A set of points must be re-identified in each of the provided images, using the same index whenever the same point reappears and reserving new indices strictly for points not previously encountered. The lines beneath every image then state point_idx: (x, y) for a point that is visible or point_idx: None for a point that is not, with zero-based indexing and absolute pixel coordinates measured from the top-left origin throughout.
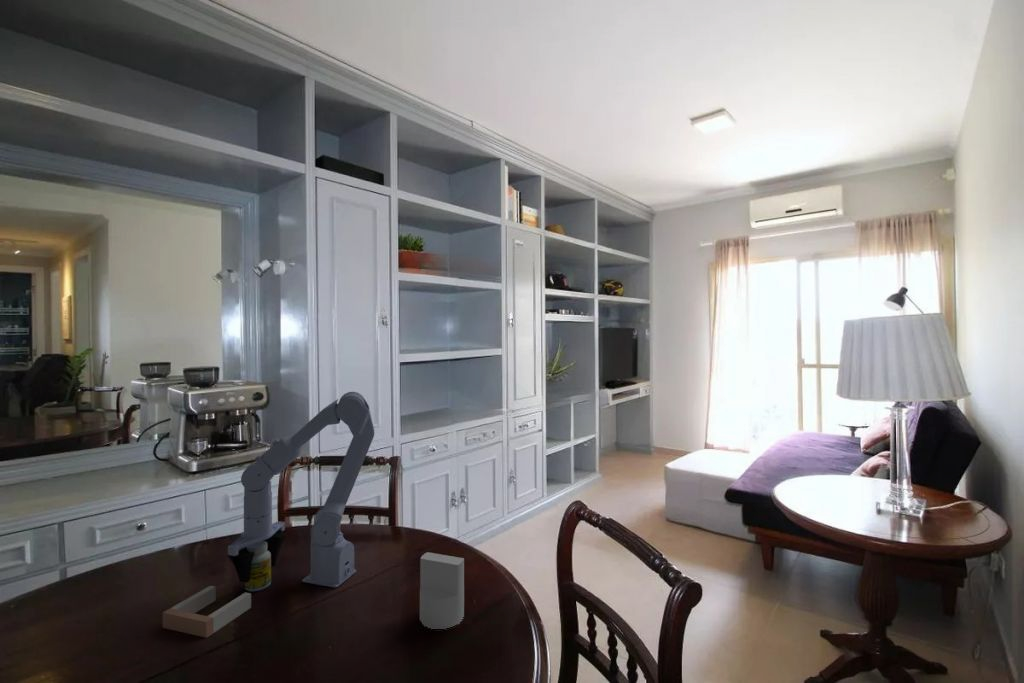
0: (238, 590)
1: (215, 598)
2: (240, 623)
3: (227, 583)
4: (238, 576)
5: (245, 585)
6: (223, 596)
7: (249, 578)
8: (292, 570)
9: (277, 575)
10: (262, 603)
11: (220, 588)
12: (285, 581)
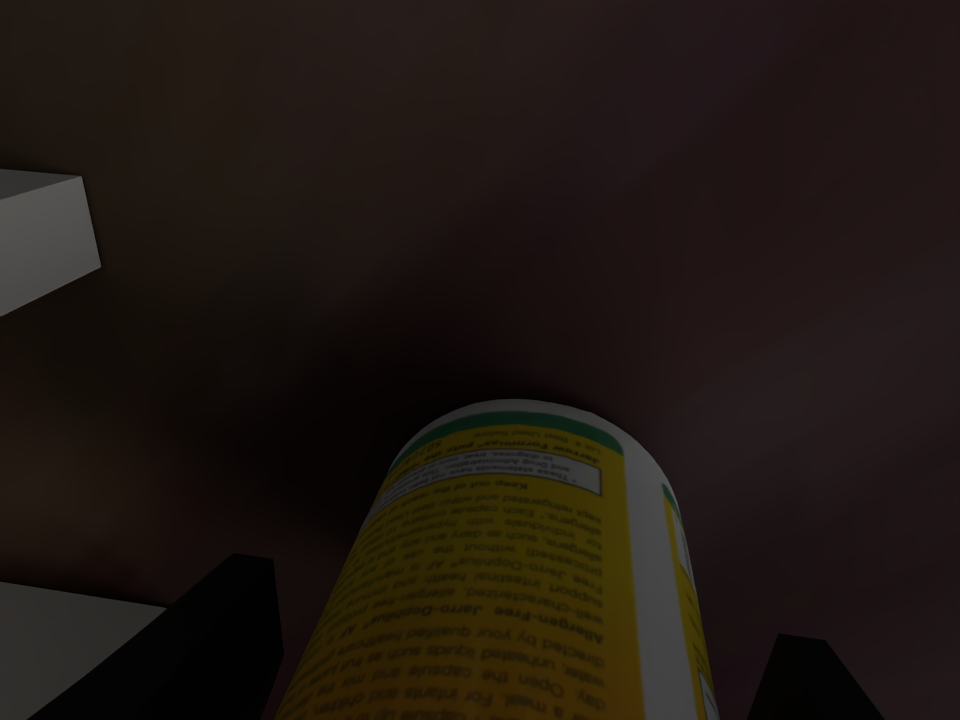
0: (378, 365)
1: (81, 276)
2: None
3: (496, 50)
4: (174, 607)
5: (384, 482)
6: (207, 287)
7: (257, 705)
8: (957, 668)
9: (813, 579)
10: (272, 697)
11: (339, 68)
12: None
